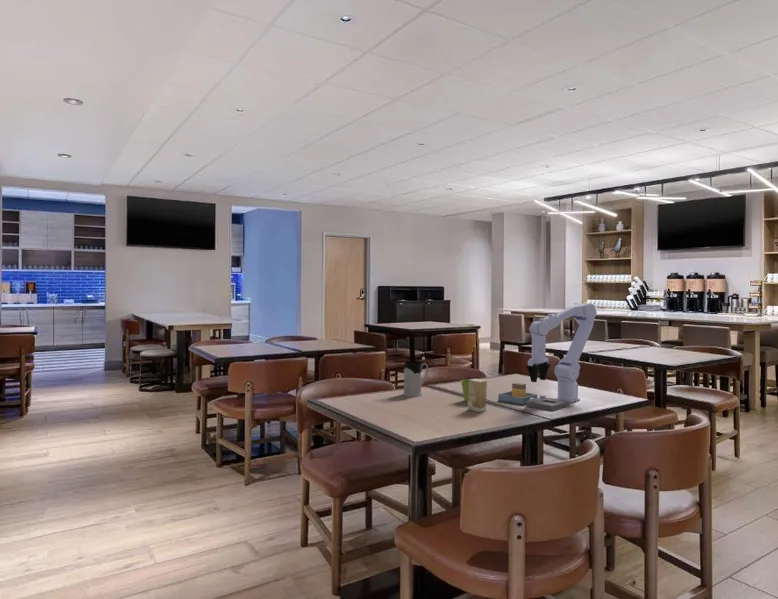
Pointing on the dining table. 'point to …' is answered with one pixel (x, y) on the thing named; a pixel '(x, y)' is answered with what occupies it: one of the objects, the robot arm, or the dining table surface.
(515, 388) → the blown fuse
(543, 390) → the dining table surface
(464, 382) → the plant pot
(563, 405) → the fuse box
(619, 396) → the dining table surface
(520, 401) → the parts tray
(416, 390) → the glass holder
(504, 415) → the dining table surface
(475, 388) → the skincare box
